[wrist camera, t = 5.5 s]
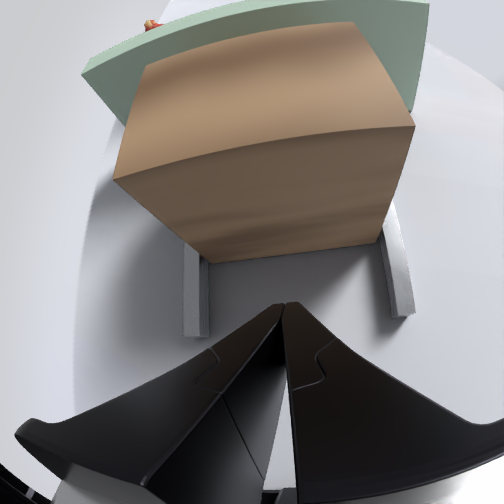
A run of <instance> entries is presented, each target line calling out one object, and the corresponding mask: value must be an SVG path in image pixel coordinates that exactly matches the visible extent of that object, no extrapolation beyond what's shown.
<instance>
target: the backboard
mask: <svg viewBox="0 0 504 504" xmlns="http://www.w3.org/2000/svg"><path fill="white" fill-rule="evenodd" d="M428 14H429V3H428V2H427V1H426V0H245V1H241V2H236V3H232V4H228V5H224V6H220V7H216V8H213V9H209V10H206V11H202V12H199V13H196V14H193V15H190V16H186V17H184V18H181V19H178V20H175V21H172V22H169V23H167V24H164V25H161V26H159V27H156V28H154V29H151V30H149V31H146V32H144V33H142V34H139V35H137V36H135V37H133V38H130V39H128V40H126V41H124V42H122V43H120V44H118V45H116V46H114V47H112V48H110V49H108V50H106V51H104V52H102V53H100V54H98V55H96V56H95V57H93V58H91V59H90V60H89V62H88V63H87V65H86V67H85V69H84V70H83V72H82V74H81V75H82V77H83V78H84V79H85V80H86V81H87V83H88V84H89V85H90V86H91V87H92V88H93V90H94V91H95V92H96V93H97V94H98V95H99V97H100V98H101V99H102V100H103V101H104V103H105V104H106V105H107V106H108V107H109V109H110V110H111V111H112V112H113V113H114V114H115V116H116V117H117V118H118V119H119V120H120V121H121V123H122V124H123V125H124V126H125V127H126V124H127V120H128V117H129V114H130V110H131V107H132V104H133V101H134V98H135V95H136V92H137V89H138V86H139V83H140V80H141V77H142V74H143V72H144V69H145V66H146V65H149V64H151V63H154V62H157V61H159V60H162V59H165V58H167V57H170V56H173V55H176V54H179V53H182V52H185V51H188V50H191V49H194V48H198V47H201V46H204V45H208V44H211V43H215V42H219V41H223V40H227V39H231V38H235V37H239V36H244V35H248V34H253V33H258V32H263V31H269V30H275V29H281V28H287V27H294V26H302V25H311V24H321V23H335V22H354V24H355V25H356V26H357V28H358V29H359V30H360V32H361V33H362V35H363V36H364V37H365V39H366V40H367V42H368V43H369V45H370V46H371V48H372V49H373V51H374V52H375V54H376V55H377V57H378V59H379V60H380V62H381V63H382V65H383V67H384V68H385V70H386V72H387V73H388V75H389V77H390V78H391V80H392V82H393V83H394V85H395V87H396V89H397V91H398V92H399V94H400V96H401V98H402V100H403V102H404V104H405V105H406V107H407V109H408V111H412V109H413V105H414V100H415V96H416V91H417V86H418V81H419V76H420V70H421V65H422V59H423V53H424V46H425V39H426V32H427V24H428Z"/></svg>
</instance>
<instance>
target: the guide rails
mask: <svg viewBox="0 0 504 504" xmlns="http://www.w3.org/2000/svg"><path fill="white" fill-rule="evenodd" d="M379 241H380V246H381V251H382V257H383V262H384V268H385V273H386V279H387V286H388V292H389V299H390V307H391V314H392V319H395V318H401V317H406V316H410V315H412V314H414V313H416V311H415V304H414V298H413V291H412V285H411V279H410V274H409V268H408V263H407V258H406V253H405V249H404V244H403V240H402V235H401V231H400V227H399V223H398V219H397V215H396V211H395V207H394V203H393V200H392V202H391V205H390V207H389V210H388V213H387V215H386V218H385V221H384V223H383V226H382V228H381V231H380V234H379ZM183 336H187V337H193V338H200V337H210V332H209V277H208V260H207V259H205V258H204V257H203V256H202V255H200V254H199V253H198V252H197V251H196V250H194V249H193V248H192V247H191V246H190V245H188V244H187V243H186V242H185V241H184V273H183Z"/></svg>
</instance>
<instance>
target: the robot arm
mask: <svg viewBox="0 0 504 504" xmlns="http://www.w3.org/2000/svg"><path fill="white" fill-rule="evenodd" d="M286 379H287V383H288V393H289V405H290V416H291V428H292V439H293V452H294V464H295V478H296V488H283V489H282V490H263V486H264V481H265V477H266V473H267V469H268V465H269V461H270V456H271V452H272V448H273V443H274V439H275V434H276V429H277V425H278V420H279V415H280V410H281V405H282V400H283V395H284V390H285V385H286ZM14 435H15V438H16V439H17V441H18V442H19V443H20V444H21V445H22V446H23V447H24V448H25V449H26V450H27V451H28V452H29V453H30V454H31V455H32V456H34V457H35V458H36V459H37V460H38V461H39V462H40V463H42V464H43V465H44V466H45V467H46V468H47V469H49V470H50V471H51V472H52V473H54V474H55V475H56V476H57V477H59V478H60V479H61V480H62V481H61V483H60V485H59V487H58V489H57V491H56V493H55V495H54V497H53V499H52V501H50V500H49V499H47V498H45V497H44V496H42V495H41V494H39V493H38V492H36V491H34V490H33V489H32V488H30V487H29V486H27V485H26V484H25V483H23V482H22V481H21V480H20V479H18V478H17V477H16V476H14V475H13V474H12V473H11V472H10V471H8V470H7V469H6V468H5V467H4V466H3V465H1V464H0V504H504V418H503V419H500V420H498V421H496V422H493V423H490V424H475V423H471V422H469V421H466V420H465V419H463V418H461V417H459V416H458V415H456V414H454V413H453V412H451V411H449V410H448V409H446V408H444V407H442V406H441V405H439V404H437V403H436V402H434V401H432V400H431V399H429V398H427V397H426V396H424V395H422V394H421V393H419V392H417V391H416V390H414V389H413V388H411V387H409V386H408V385H406V384H404V383H403V382H401V381H400V380H398V379H396V378H395V377H393V376H391V375H390V374H388V373H387V372H385V371H383V370H382V369H380V368H379V367H377V366H375V365H374V364H372V363H371V362H369V361H367V360H366V359H364V358H363V357H361V356H360V355H358V354H357V353H356V352H354V351H353V350H352V349H350V348H349V347H348V346H347V345H345V344H344V343H343V342H342V341H341V340H340V339H339V338H337V337H336V336H335V335H334V334H333V333H332V332H330V331H329V330H328V329H327V328H326V327H325V326H324V325H323V324H322V323H321V322H320V321H318V320H317V319H316V318H315V317H314V316H313V315H312V314H311V313H310V312H309V311H308V310H306V309H305V308H304V307H303V306H302V305H301V304H300V303H299V302H290V303H286V305H285V304H284V303H281V304H273V305H271V306H270V307H268V308H267V309H266V310H264V311H263V312H261V313H260V314H258V315H257V316H256V317H254V318H253V319H251V320H250V321H248V322H247V323H246V324H244V325H243V326H241V327H240V328H238V329H237V330H235V331H234V332H232V333H231V334H229V335H228V336H226V337H225V338H224V339H222V340H221V341H219V342H218V343H216V344H215V345H213V346H212V347H210V349H209V348H208V349H206V350H205V351H203V352H202V353H200V354H199V355H197V356H195V357H194V358H192V359H190V360H189V361H187V362H185V363H183V364H182V365H180V366H178V367H176V368H174V369H173V370H171V371H169V372H167V373H165V374H163V375H161V376H159V377H157V378H155V379H153V380H151V381H149V382H147V383H145V384H143V385H141V386H139V387H137V388H135V389H133V390H131V391H129V392H127V393H125V394H123V395H120V396H118V397H116V398H114V399H112V400H110V401H108V402H106V403H103V404H101V405H99V406H97V407H95V408H92V409H90V410H88V411H86V412H83V413H81V414H79V415H77V416H74V417H72V418H70V419H67V420H65V421H62V422H59V423H46V422H43V421H41V420H38V419H35V418H31V419H29V420H27V421H26V422H25V423H24V424H22V425H21V426H20V427H19V428H18V430H17V431H16V433H15V434H14ZM261 497H262V499H261Z"/></svg>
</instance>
